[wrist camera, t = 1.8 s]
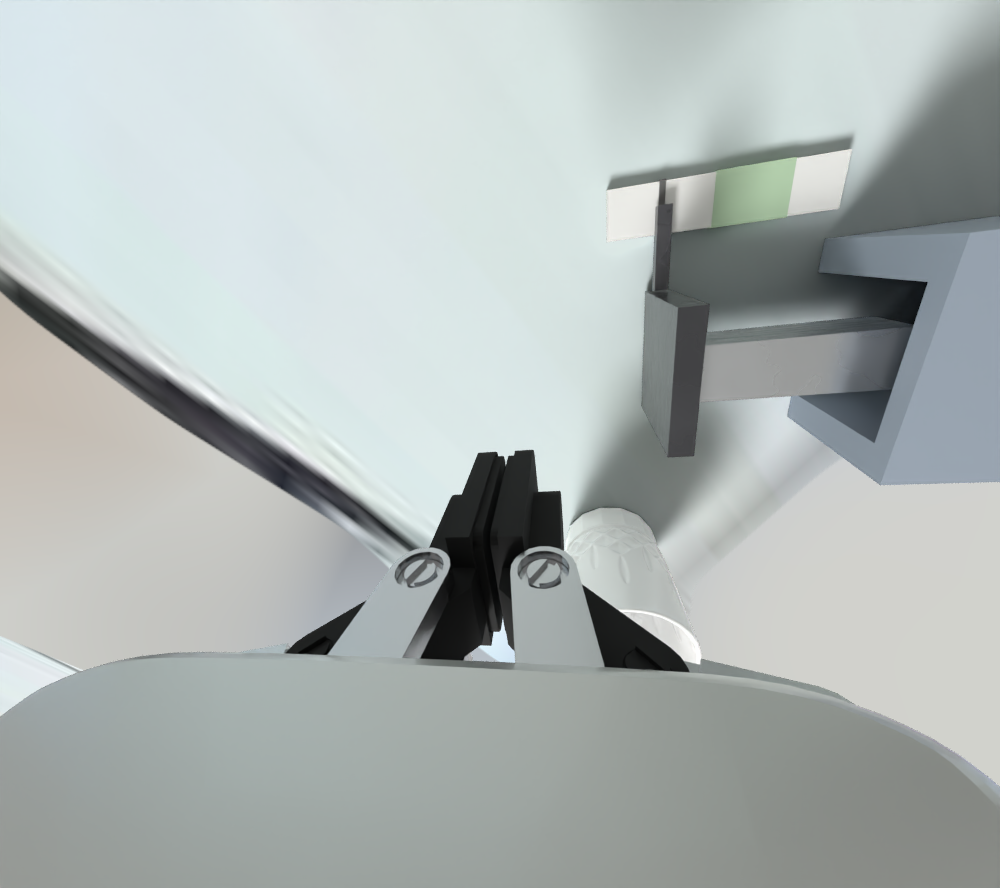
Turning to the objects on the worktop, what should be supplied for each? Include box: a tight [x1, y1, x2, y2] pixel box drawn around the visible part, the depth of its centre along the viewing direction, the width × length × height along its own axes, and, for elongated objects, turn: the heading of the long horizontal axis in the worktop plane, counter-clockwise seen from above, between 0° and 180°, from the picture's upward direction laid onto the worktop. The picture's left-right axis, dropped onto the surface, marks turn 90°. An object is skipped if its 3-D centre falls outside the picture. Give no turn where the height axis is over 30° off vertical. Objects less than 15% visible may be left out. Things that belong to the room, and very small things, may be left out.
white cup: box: [565, 508, 702, 665], centre depth 26 cm, size 8×8×10 cm
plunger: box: [641, 203, 914, 457], centre depth 19 cm, size 10×11×7 cm
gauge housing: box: [606, 149, 1000, 485], centre depth 18 cm, size 21×14×8 cm, turn 97°
